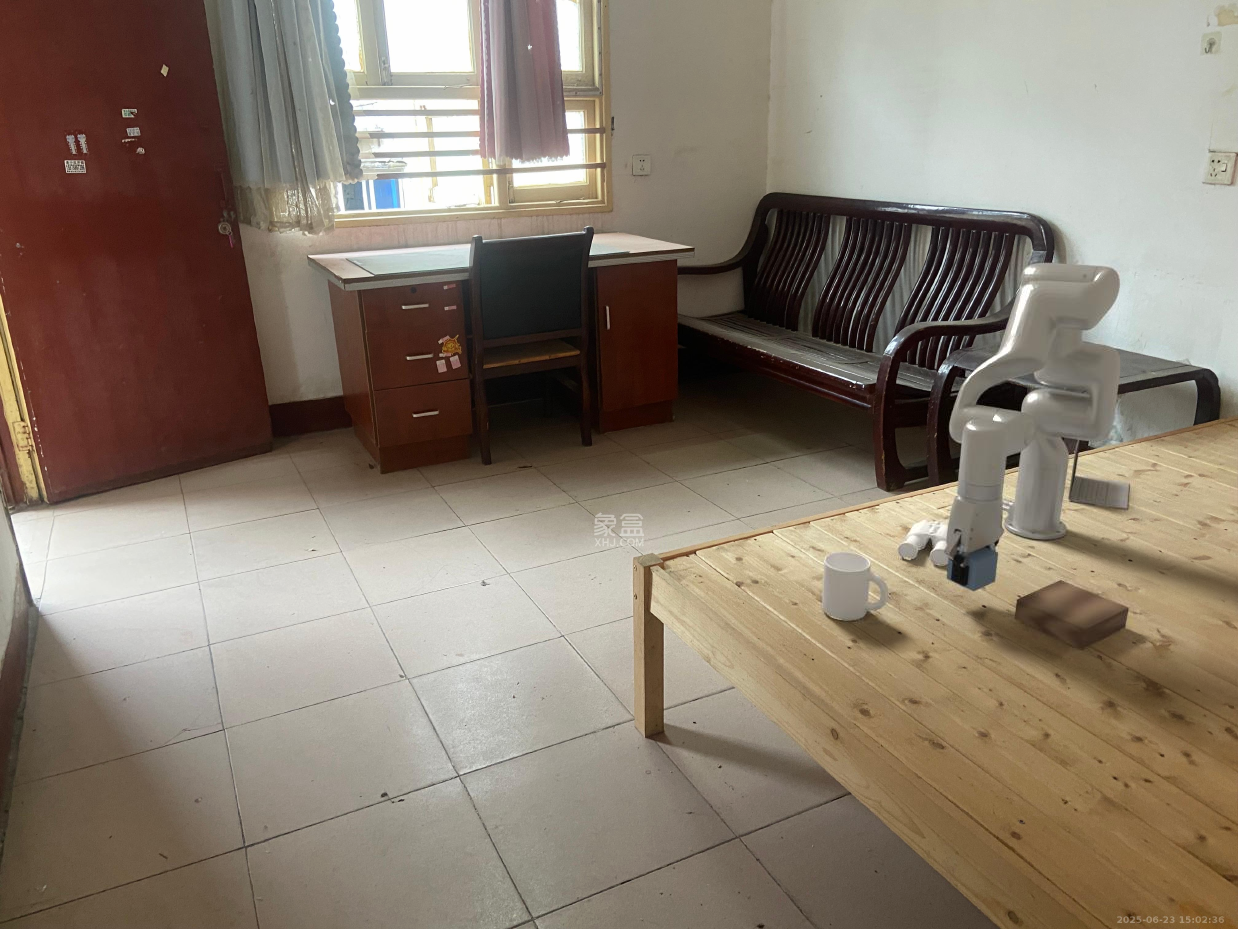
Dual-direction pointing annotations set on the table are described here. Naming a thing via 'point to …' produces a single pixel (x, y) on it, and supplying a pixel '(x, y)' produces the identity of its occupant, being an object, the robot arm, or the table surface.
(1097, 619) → the walnut base
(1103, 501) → the laptop
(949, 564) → the slate cube
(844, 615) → the mug
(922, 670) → the table surface
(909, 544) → the binoculars
